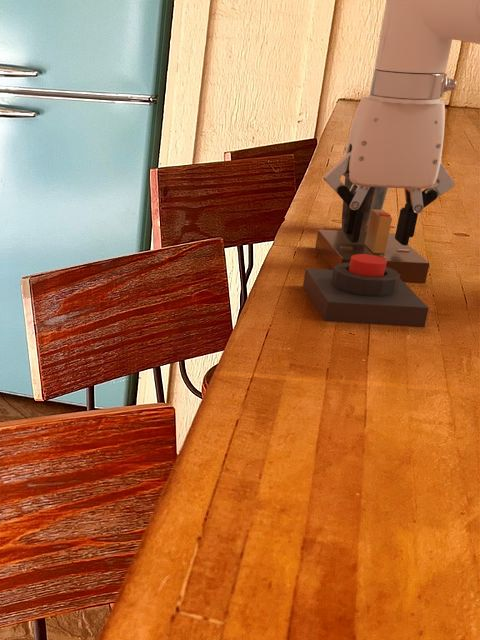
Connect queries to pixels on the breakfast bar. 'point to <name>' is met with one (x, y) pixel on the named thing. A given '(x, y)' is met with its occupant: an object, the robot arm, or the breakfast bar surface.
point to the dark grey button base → (364, 297)
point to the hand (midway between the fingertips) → (376, 239)
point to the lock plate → (397, 255)
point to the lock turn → (378, 231)
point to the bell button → (367, 265)
